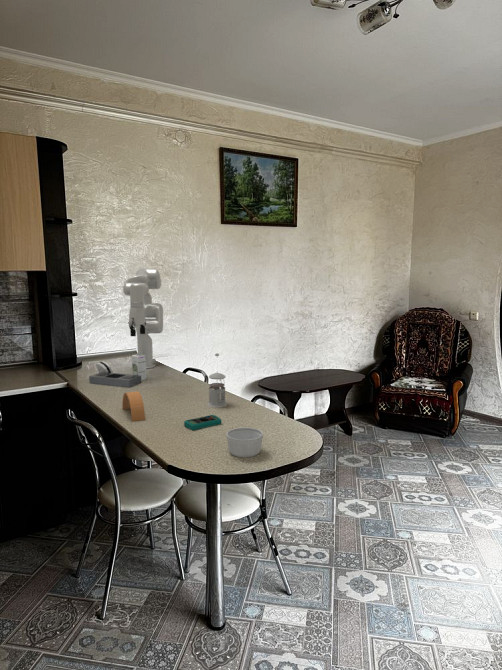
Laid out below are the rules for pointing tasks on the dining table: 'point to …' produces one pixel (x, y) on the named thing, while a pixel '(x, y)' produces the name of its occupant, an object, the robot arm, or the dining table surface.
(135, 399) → the arch
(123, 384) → the gray compartment tray
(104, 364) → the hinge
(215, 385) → the french press
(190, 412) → the dining table surface
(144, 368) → the syrup box
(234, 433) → the ramekin
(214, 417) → the digital multimeter
